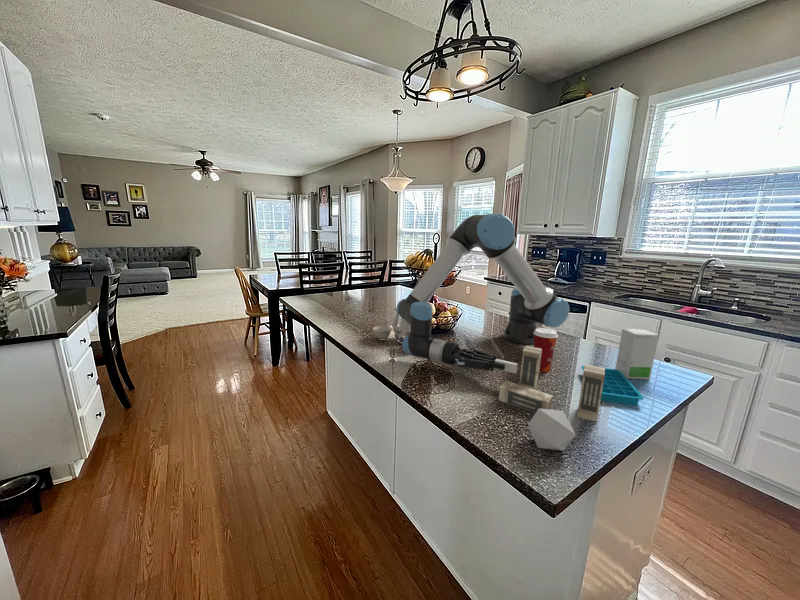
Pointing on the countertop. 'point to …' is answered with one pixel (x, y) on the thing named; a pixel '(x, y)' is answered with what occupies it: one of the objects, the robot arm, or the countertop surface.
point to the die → (551, 429)
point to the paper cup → (545, 346)
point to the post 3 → (591, 392)
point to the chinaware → (398, 330)
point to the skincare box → (636, 353)
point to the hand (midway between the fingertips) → (516, 368)
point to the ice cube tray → (618, 388)
